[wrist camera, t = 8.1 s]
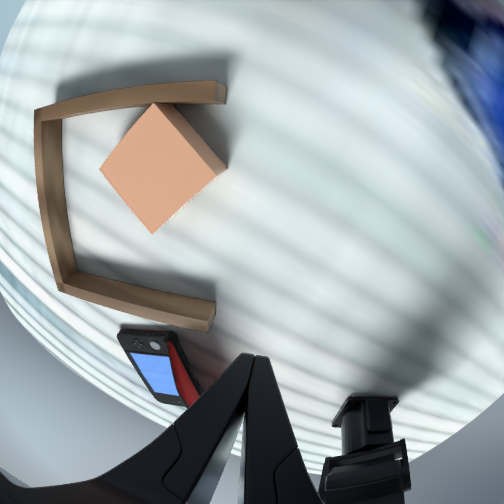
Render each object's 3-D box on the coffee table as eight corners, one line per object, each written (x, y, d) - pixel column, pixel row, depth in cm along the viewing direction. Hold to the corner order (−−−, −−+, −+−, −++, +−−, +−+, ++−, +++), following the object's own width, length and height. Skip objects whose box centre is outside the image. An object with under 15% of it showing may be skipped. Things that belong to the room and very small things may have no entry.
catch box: (215, 313, 23) (207, 332, 20) (72, 278, 24) (58, 290, 22) (227, 86, 15) (216, 80, 13) (54, 108, 17) (34, 109, 14)
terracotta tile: (170, 219, 20) (152, 234, 17) (122, 162, 19) (99, 169, 16) (229, 168, 18) (216, 175, 15) (174, 105, 16) (153, 102, 14)
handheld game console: (117, 325, 26) (81, 372, 20) (208, 328, 24) (180, 392, 17) (159, 396, 31) (139, 440, 25) (237, 405, 29) (223, 457, 22)
